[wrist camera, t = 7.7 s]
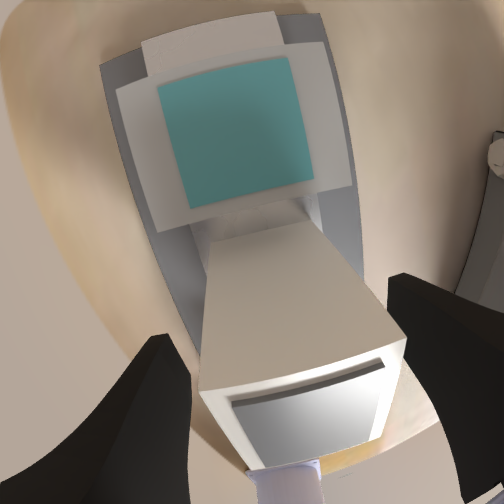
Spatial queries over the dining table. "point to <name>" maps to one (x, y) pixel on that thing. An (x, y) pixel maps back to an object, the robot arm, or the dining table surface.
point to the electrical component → (488, 239)
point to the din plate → (181, 238)
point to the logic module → (294, 348)
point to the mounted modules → (235, 132)
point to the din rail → (211, 45)
